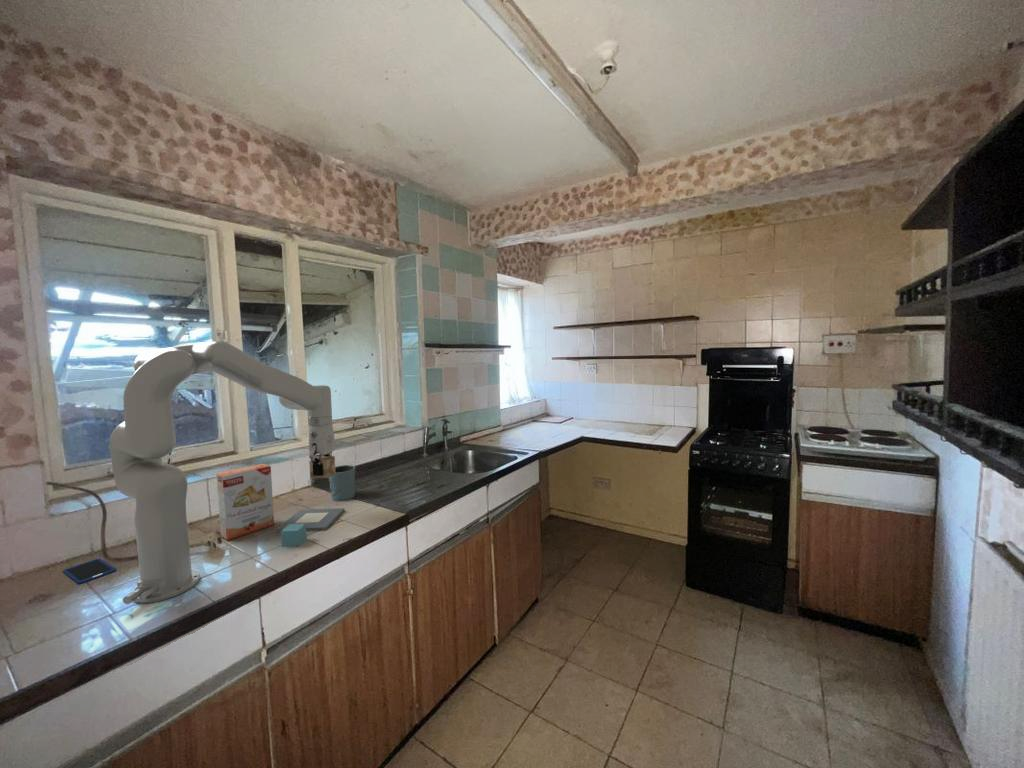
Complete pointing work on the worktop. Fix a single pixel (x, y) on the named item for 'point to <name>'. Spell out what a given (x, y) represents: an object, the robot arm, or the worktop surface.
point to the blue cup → (343, 483)
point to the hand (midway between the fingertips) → (322, 472)
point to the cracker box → (245, 500)
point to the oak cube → (325, 467)
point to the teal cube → (293, 535)
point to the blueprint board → (313, 519)
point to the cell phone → (89, 571)
